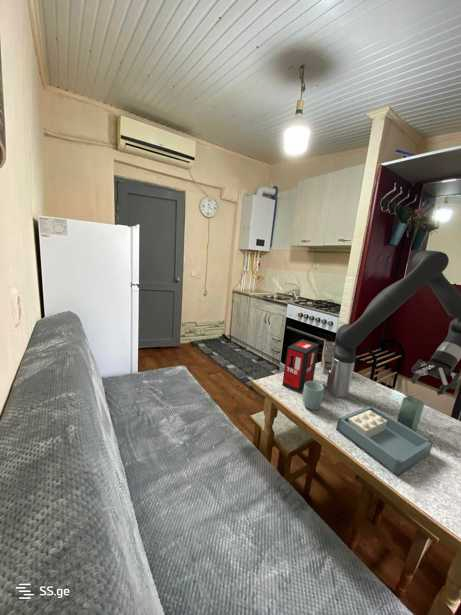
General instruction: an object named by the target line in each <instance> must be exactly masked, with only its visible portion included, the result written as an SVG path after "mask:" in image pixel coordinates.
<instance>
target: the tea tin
mask: <svg viewBox="0 0 461 615" xmlns="http://www.w3.org/2000/svg"><path fill="white" fill-rule="evenodd" d="M424 406H425V401H423V400H421V399H419V398H416V397H414V396H413V395H410V394H409V395H408V396H405V397H403V398H402V402H401V405H400V409H399V412H398V417H397V420H396V421H398V422H399V423H401V424H403V425H405V426H406V427H408V428H410V429H411V430H413V431H415V432H416V433H417V431H418V428H419V425H420V424H419V423H420V420H421V416H422V413H423V410H424Z"/></svg>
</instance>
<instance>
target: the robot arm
mask: <svg viewBox="0 0 461 615" xmlns="http://www.w3.org/2000/svg"><path fill="white" fill-rule="evenodd" d="M449 259H450V258H449V256H448V255H447V253H446V252H445V253H444V252H443V251H439V250H428V249H427V250H421V251H419V252H417V253H416V254H415V255H414V256H413V257H412V262H411V264H412V268H413V269H412V270H411V271H410V272H409V273H408V274H407V275H405V276H404V277H403V278H401V279H399V280H397V281H396V282H395V281H394V283H392V284H390V285H389V286H386V287H385V288H384V289H382V291H380V292H379V293H378V294H377V295H375V297H373V299H372V300H371V301H370V302H369V304H368V305H367V307H366V308H365V310H364V312H362V314H361V315H360V317H358V319H357V320H356V321H354V322H353V323H352V324H350V323H344V324H343V325H341V326H339V327H338V329H337V331H336V334H335V341H334V342H335V346H334V356H333V362H332V367H331V370H330V371H329V373H328V374H327V378H326V379H327V380H326V386H325V390H326V391H327V392H328V393H329V394H330V395H331V396H334V397H337V398H343V399H344V398H348V397H349V393H350V387H351V383H352V377H353V373H354V369H355V363H356V357H357V354H356V351H357V350H356V348H357V347H358V346H359V345H360V344H361V343H362V342H364V340H365V339H366V338H367V337H368V335H369V334H370V333H371V332H373V330H375V329H376V328H377V327H378V326H379V325H381V323H383V322H384V321H385V320H386V319H387V318H388V317H390V316H391V315H393V313H394V312H396V311H397V310H398V309H399V308H400V307H401V306H402V305H403V304H405V303H406V301H408V300H409V299H410V298H411V297H413V296H414V295H415V294H416V293H417V292H418V291H419V290H420V289H422V288H423V287H424V286H425V285H427V284H428V286H429V287H430V289H431V290H432V292H433V293H434V294H435V297H436V298H437V299H438V300H439V302H440V304H441V305H442V307H443V309H444V311H445V312H446V314H447V315H448V316H449V317H452V318H453V319H452V320H451V321H450V323H449V327H448V332H447V336H446V337H445V339H444V340H443V342H442V343H441V344H440V345H439V346H438V347H437V348H436V350H435V352H434V353H433V354H432V355H431V358H430V359H429V361H427V362H425V361H423V360H422V359H420V358H419V359H418V360H417V361H416V362H415V363H414V365H413V366H412V367H411V371H412V372H411V373H413V375H412V377H411V383H412V384H413V385H415V384H416V383H417V382H418V380H419V378H420V377H422V376H427V375H429V376H430V377H434V378H435V379H438V380H439V379H440V380H441V382H442V384H441V385H440V386H439V388H438V389H437V391H436V394H437V396H441V395H444V394H445V393H446V391H447V389H451V390H456V388H457V385H458V384H459V382H460V380H461V374H460V373H459V372H456V373H455V372H453V370H454V369H455V367H456V365H458V362H459V361H460V360H461V292H460V291H459V290H458V289H457V288H456V287H455V286H454V285H453V284H452V283H451V282H450V281H449V279H447V278H446V276H445V275H444V271H445V270H446V268H447V267H448V265H449ZM421 367H422V368H421ZM447 377H451V378H452V380H451V382H449V383H448V381H447Z"/></svg>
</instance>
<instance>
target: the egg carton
mask: <svg viewBox="0 0 461 615" xmlns="http://www.w3.org/2000/svg"><path fill="white" fill-rule="evenodd" d="M348 423H349V424H350V425H352V426H353V427H355V428H356V429H357V430H359V431H360V432H362V433H363V434H364V435H366V436H367V437H369V438H370V437H372V436H374V435H376V434H378V433H380V432H382V431H384V430H385V428H386V424H387V420H385V419H383V418H382V417H381V416H379V415H377V414H375V413H374V412H373V411H371V410H368V411H366V412H363V413H361V414H358V415H356V416H353V417H351V418H349V419H348Z"/></svg>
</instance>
